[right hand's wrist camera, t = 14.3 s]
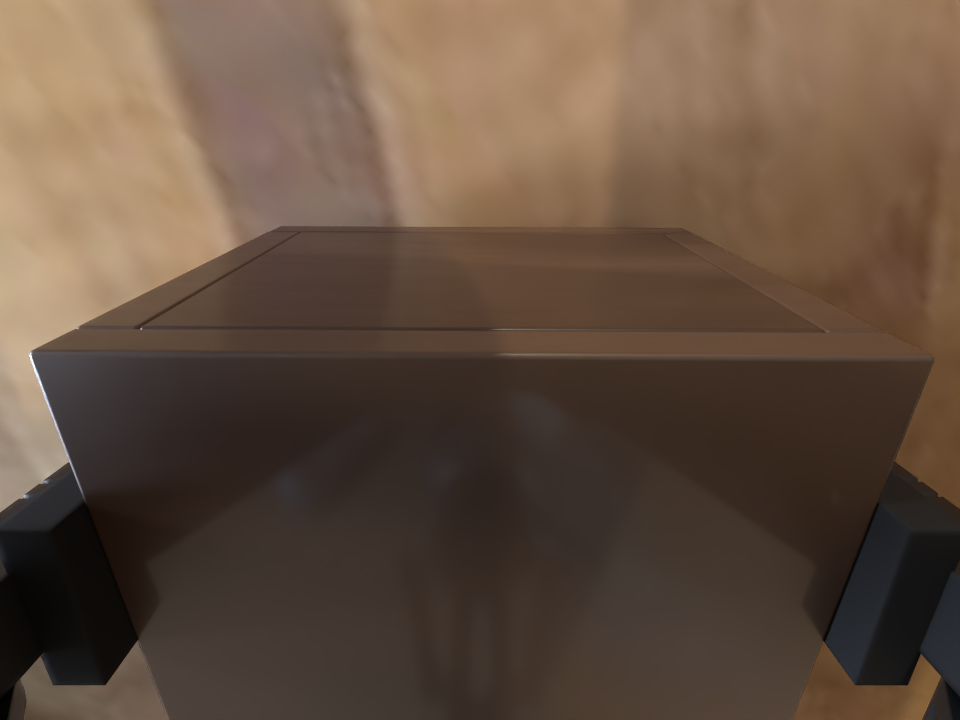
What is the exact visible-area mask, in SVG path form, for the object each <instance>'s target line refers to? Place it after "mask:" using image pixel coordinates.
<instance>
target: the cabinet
mask: <svg viewBox="0 0 960 720" xmlns="http://www.w3.org/2000/svg"><path fill="white" fill-rule="evenodd" d="M29 358H30V360H31V363H32V365H33V368H34V371H35V373H36V376H37V379H38V381H39V384H40V386H41V389H42V392H43V394H44V397H45V399H46V402H47V405H48V407H49V410H50V413H51V415H52V418H53V420H54V423H55V426H56V428H57V431H58V433H59V436H60V439H61V441H62V444H63V446H64V449H65V452H66V454H67V457H68V460H69V462H70V465H71V467H72V470H73V473H74V475H75V478H76V480H77V483H78V486H79V488H80V491H81V494H82V496H83V499H84V501H85V504H86V507H87V509H88V512H89V514H90V517H91V520H92V522H93V525H94V528H95V530H96V533H97V535H98V538H99V541H100V543H101V546H102V548H103V551H104V554H105V556H106V559H107V561H108V564H109V567H110V569H111V572H112V575H113V577H114V580H115V582H116V585H117V588H118V590H119V593H120V595H121V598H122V601H123V603H124V606H125V609H126V611H127V614H128V616H129V619H130V622H131V624H132V627H133V629H134V632H135V635H136V637H137V640H138V643H139V645H140V648H141V650H142V653H143V656H144V658H145V661H146V663H147V666H148V669H149V671H150V674H151V676H152V679H153V682H154V684H155V687H156V690H157V692H158V695H159V697H160V700H161V703H162V705H163V708H164V710H165V713H166V716H167V718H168V720H792V719H793V716H794V714H795V711H796V709H797V706H798V703H799V701H800V698H801V696H802V693H803V691H804V688H805V686H806V683H807V681H808V678H809V676H810V673H811V671H812V668H813V666H814V663H815V661H816V658H817V655H818V653H819V650H820V648H821V645H822V643H823V640H824V638H825V635H826V633H827V630H828V628H829V625H830V623H831V620H832V618H833V615H834V613H835V610H836V607H837V605H838V602H839V600H840V597H841V595H842V592H843V590H844V587H845V585H846V582H847V580H848V577H849V575H850V572H851V570H852V567H853V565H854V562H855V559H856V557H857V554H858V552H859V549H860V547H861V544H862V542H863V539H864V537H865V534H866V532H867V529H868V527H869V524H870V522H871V519H872V517H873V514H874V511H875V509H876V506H877V504H878V501H879V499H880V496H881V494H882V491H883V489H884V486H885V484H886V481H887V479H888V476H889V474H890V471H891V469H892V466H893V463H894V461H895V458H896V456H897V453H898V451H899V448H900V446H901V443H902V441H903V438H904V436H905V433H906V431H907V428H908V426H909V423H910V421H911V418H912V415H913V413H914V410H915V408H916V405H917V403H918V400H919V398H920V395H921V393H922V390H923V388H924V385H925V383H926V380H927V378H928V375H929V373H930V370H931V367H932V365H933V362H934V357H933V356H932V355H930V354H928V353H926V352H924V351H923V350H921V349H919V348H917V347H915V346H913V345H911V344H909V343H907V342H905V341H903V340H901V339H899V338H897V337H895V336H893V335H891V334H889V333H884V331H883V330H882V329H880V328H878V327H876V326H874V325H872V324H870V323H868V322H866V321H864V320H862V319H860V318H858V317H856V316H854V315H852V314H850V313H848V312H846V311H844V310H842V309H840V308H838V307H836V306H834V305H832V304H830V303H829V302H827V301H825V300H823V299H821V298H819V297H817V296H815V295H813V294H811V293H809V292H807V291H805V290H803V289H801V288H799V287H797V286H795V285H793V284H791V283H789V282H787V281H785V280H783V279H781V278H779V277H777V276H776V275H774V274H772V273H770V272H768V271H766V270H764V269H762V268H760V267H758V266H756V265H754V264H752V263H750V262H748V261H746V260H744V259H742V258H740V257H738V256H736V255H734V254H732V253H730V252H728V251H726V250H724V249H722V248H721V247H719V246H717V245H715V244H713V243H711V242H709V241H707V240H705V239H703V238H701V237H699V236H697V235H695V234H693V233H691V232H689V231H687V230H685V229H683V228H526V227H311V226H281V227H278V228H276V229H274V230H272V231H270V232H267V233H265V234H263V235H261V236H259V237H257V238H255V239H253V240H251V241H249V242H247V243H245V244H243V245H241V246H239V247H237V248H235V249H233V250H231V251H229V252H227V253H225V254H223V255H221V256H219V257H217V258H215V259H213V260H211V261H209V262H207V263H205V264H203V265H201V266H199V267H197V268H195V269H193V270H191V271H189V272H187V273H185V274H183V275H181V276H179V277H177V278H175V279H173V280H171V281H169V282H167V283H165V284H163V285H161V286H159V287H157V288H155V289H153V290H151V291H149V292H147V293H145V294H143V295H141V296H139V297H137V298H135V299H133V300H131V301H129V302H127V303H125V304H123V305H121V306H119V307H117V308H115V309H113V310H111V311H109V312H107V313H105V314H102V315H100V316H98V317H96V318H94V319H92V320H90V321H88V322H86V323H84V324H82V325H80V326H78V328H77V329H74V330H72V331H70V332H68V333H66V334H64V335H62V336H60V337H58V338H56V339H54V340H52V341H50V342H48V343H46V344H44V345H42V346H40V347H38V348H36V349H34V350H32V351H31V352H30V354H29Z"/></svg>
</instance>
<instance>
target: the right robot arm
mask: <svg viewBox="0 0 960 720" xmlns="http://www.w3.org/2000/svg"><path fill="white" fill-rule="evenodd" d="M937 494H938V493H937V492H935V491H934V490H933V489H931V488H930V487H928V486H927V485H926V484H924V483H923V482H918V479H917V478H916V477H915V476H913V475H912V474H911V473H909V472H908V471H907V470H905V469H904V468H902V467H901V466H900V465H898V464H897V463H896V462H894V463H893V466H892V469H891V471H890V474H889V476H888V479H887V481H886V484H885V486H884V489H883V491H882V494H881V496H880V499H879V501H878V504H877V506H876V509H875V511H874V514H873V517H872V519H871V522H870V524H869V527H868V529H867V532H866V534H865V537H864V539H863V542H862V544H861V547H860V549H859V552H858V554H857V557H856V559H855V562H854V565H853V567H852V570H851V572H850V575H849V577H848V580H847V582H846V585H845V587H844V590H843V592H842V595H841V597H840V600H839V602H838V605H837V607H836V610H835V613H834V615H833V618H832V620H831V623H830V625H829V628H828V630H827V633H826V635H825V638H824V640H823V641H824V642H825V643H826V645H827V646H828V648H829V649H830V651H831V652H832V653H833V655H834V656H835V658H836V659H837V660H838V662H839V663H840V665H841V666H842V667H843V669H844V670H845V672H846V673H847V674H848V676H849V677H850V679H851V680H852V681H853V683H854V684H855V685H908V683H909V681H910V678H911V676H912V674H913V671H914V669H915V666H916V664H917V661H918V659H919V657H920V654H922V655H923V656H924V657H925V658H926V660H927V661H928V662H929V663H930V664H931V665H932V666H933V667H934V669H935V670H936V671H937V672H938V673H939V674H940V675H941V679H940V681H939V683H938V685H937V688H936V690H935V692H934V694H933V697H932V699H931V701H930V703H929V706H928V708H927V710H926V713H925V715H924V717H923V719H922V720H960V509H959V508H957V507H956V506H955V505H953V504H952V503H950V502H949V501H948V500H946V499H945V498H944V497H938V495H937ZM136 642H137V637H136V635H135V632H134V629H133V627H132V624H131V622H130V619H129V616H128V614H127V611H126V609H125V606H124V603H123V601H122V598H121V595H120V593H119V590H118V588H117V585H116V582H115V580H114V577H113V575H112V572H111V569H110V567H109V564H108V561H107V559H106V556H105V554H104V551H103V548H102V546H101V543H100V541H99V538H98V535H97V533H96V530H95V528H94V525H93V522H92V520H91V517H90V514H89V512H88V509H87V507H86V504H85V501H84V499H83V496H82V494H81V491H80V488H79V486H78V483H77V480H76V478H75V475H74V473H73V470H72V467H71V465H70V462H69V463H67V464H66V465H64V466H63V467H62V468H60V469H59V470H58V471H56V472H55V473H53V474H52V475H51V476H49V477H48V478H47V479H45V480H44V484H38V485H37V486H36V487H34V488H33V489H32V490H30V491H29V492H28V493H26V494H25V495H24V498H23V499H18V500H17V501H15V502H14V503H13V504H11V505H10V506H9V507H7V508H6V509H4V510H3V511H2V512H0V720H23V718H24V713H25V707H26V696H25V690H24V688H23V685H22V683H21V681H20V678H21V677H22V676H23V675H24V674H25V672H26V671H27V670H28V669H29V668H30V667H31V666H32V665H33V663H34V662H35V661H36V660H37V659H38V658H39V657H40V656H41V657H42V660H43V662H44V664H45V667H46V669H47V672H48V674H49V677H50V679H51V681H52V684H53V685H106V684H107V682H108V681H109V679H110V678H111V677H112V675H113V674H114V672H115V671H116V670H117V668H118V667H119V665H120V664H121V663H122V661H123V660H124V658H125V657H126V656H127V654H128V653H129V651H130V650H131V649H132V647H133V646H134V644H135V643H136Z"/></svg>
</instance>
